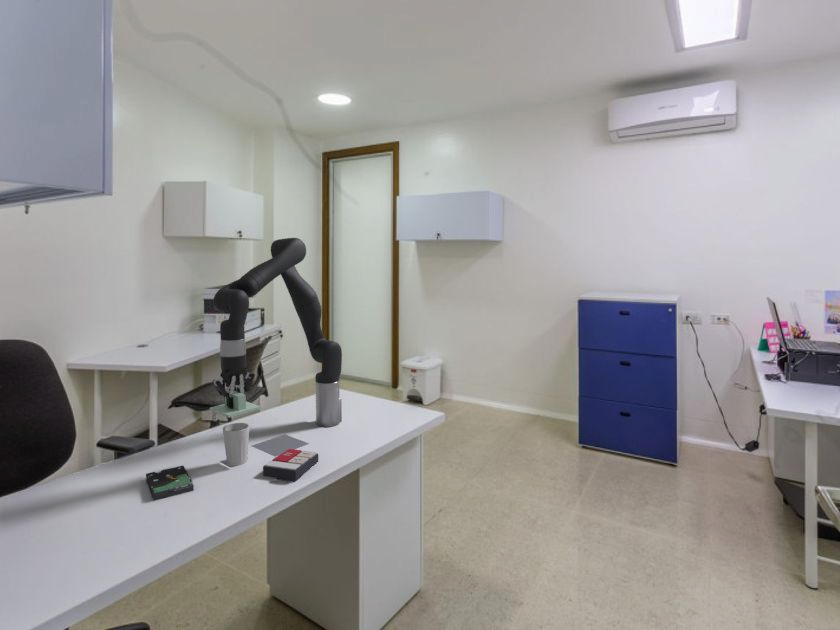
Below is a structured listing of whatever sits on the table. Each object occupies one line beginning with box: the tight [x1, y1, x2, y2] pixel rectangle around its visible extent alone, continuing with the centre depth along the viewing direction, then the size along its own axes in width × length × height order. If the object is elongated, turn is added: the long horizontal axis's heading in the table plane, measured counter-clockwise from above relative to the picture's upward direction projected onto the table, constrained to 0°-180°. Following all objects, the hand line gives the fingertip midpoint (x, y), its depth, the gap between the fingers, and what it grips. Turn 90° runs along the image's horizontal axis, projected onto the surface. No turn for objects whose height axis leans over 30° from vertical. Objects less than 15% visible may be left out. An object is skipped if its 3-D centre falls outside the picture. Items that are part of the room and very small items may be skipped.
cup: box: [222, 422, 250, 468], centre depth 154 cm, size 8×8×12 cm
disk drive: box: [145, 465, 195, 502], centre depth 139 cm, size 10×3×15 cm
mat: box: [251, 434, 310, 458], centre depth 168 cm, size 14×14×1 cm
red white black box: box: [262, 449, 319, 483], centre depth 150 cm, size 11×4×15 cm
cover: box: [209, 390, 262, 419], centre depth 152 cm, size 11×11×5 cm
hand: (235, 406), depth 152 cm, fingers closed on cover, 2 cm apart
